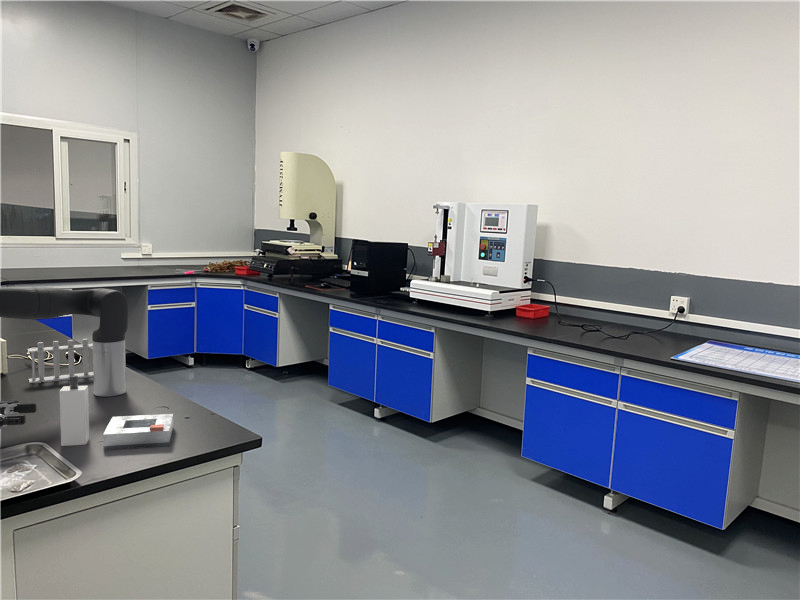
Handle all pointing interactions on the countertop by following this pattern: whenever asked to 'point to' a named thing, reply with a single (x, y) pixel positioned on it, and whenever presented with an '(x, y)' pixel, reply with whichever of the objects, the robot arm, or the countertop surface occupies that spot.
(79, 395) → the plug
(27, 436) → the countertop surface
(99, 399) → the countertop surface
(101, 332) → the robot arm
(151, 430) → the socket box
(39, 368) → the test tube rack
